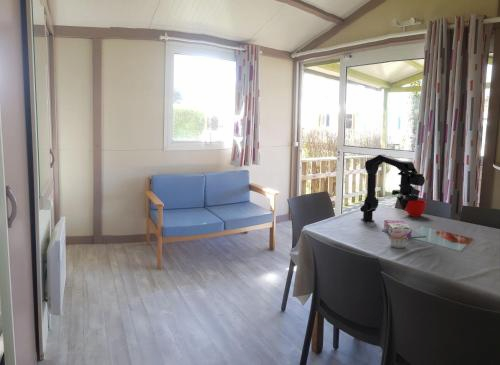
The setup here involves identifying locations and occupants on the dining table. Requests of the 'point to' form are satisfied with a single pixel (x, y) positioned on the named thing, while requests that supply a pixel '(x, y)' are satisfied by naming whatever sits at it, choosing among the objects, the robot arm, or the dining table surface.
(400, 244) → the cupcake
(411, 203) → the ceramic cup
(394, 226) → the candy bar box
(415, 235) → the mat
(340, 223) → the dining table surface
